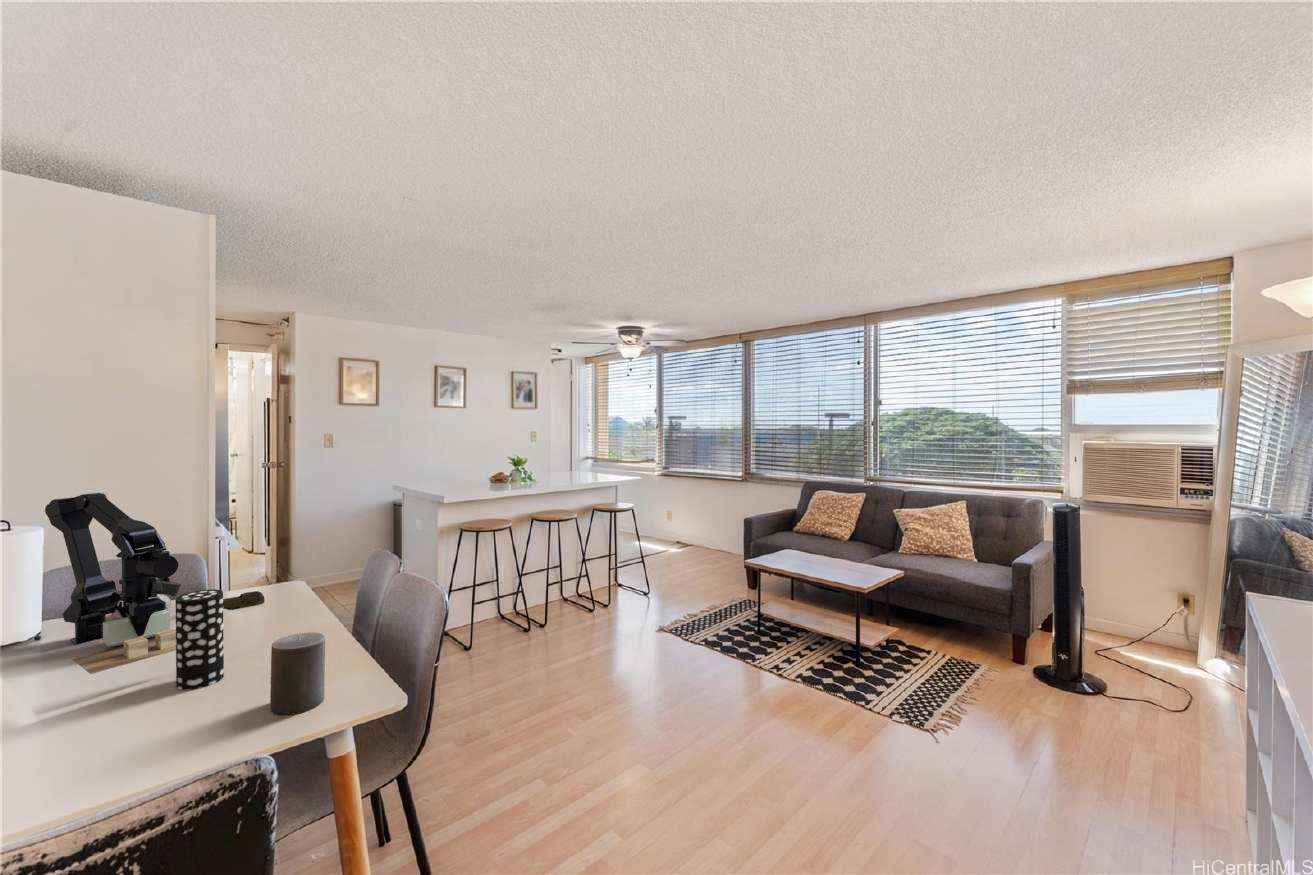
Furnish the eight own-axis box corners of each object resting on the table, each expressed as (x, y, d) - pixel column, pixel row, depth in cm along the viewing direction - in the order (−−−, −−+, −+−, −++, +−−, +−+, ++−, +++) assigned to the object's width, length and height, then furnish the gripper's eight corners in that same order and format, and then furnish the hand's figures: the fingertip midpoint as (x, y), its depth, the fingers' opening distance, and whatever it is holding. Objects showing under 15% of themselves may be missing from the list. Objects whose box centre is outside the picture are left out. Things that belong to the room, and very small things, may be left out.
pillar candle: (283, 720, 108) (284, 647, 108) (261, 706, 113) (262, 635, 113) (334, 700, 116) (335, 632, 116) (311, 688, 122) (312, 622, 121)
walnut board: (72, 665, 130) (72, 659, 130) (195, 632, 151) (195, 627, 151) (91, 680, 123) (91, 673, 123) (218, 643, 144) (217, 638, 144)
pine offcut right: (155, 646, 138) (155, 633, 138) (173, 642, 141) (173, 628, 141) (160, 649, 136) (160, 636, 136) (178, 645, 139) (178, 631, 139)
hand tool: (186, 618, 162) (186, 603, 162) (188, 614, 165) (187, 599, 165) (264, 606, 173) (264, 592, 173) (264, 603, 177) (264, 589, 176)
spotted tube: (232, 676, 126) (231, 591, 126) (191, 692, 119) (190, 603, 118) (208, 670, 129) (207, 587, 128) (167, 686, 121) (166, 598, 121)
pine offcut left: (123, 655, 133) (123, 641, 133) (142, 650, 136) (142, 636, 136) (128, 658, 131) (128, 644, 131) (147, 653, 134) (147, 639, 134)
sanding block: (103, 643, 137) (102, 622, 137) (164, 628, 147) (164, 608, 147) (108, 647, 135) (108, 625, 135) (170, 632, 145) (169, 611, 145)
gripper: (190, 573, 143) (191, 631, 143) (163, 562, 152) (163, 617, 153) (134, 583, 133) (134, 646, 134) (108, 571, 143) (109, 629, 143)
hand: (137, 633), depth 141 cm, fingers closed on sanding block, 4 cm apart
